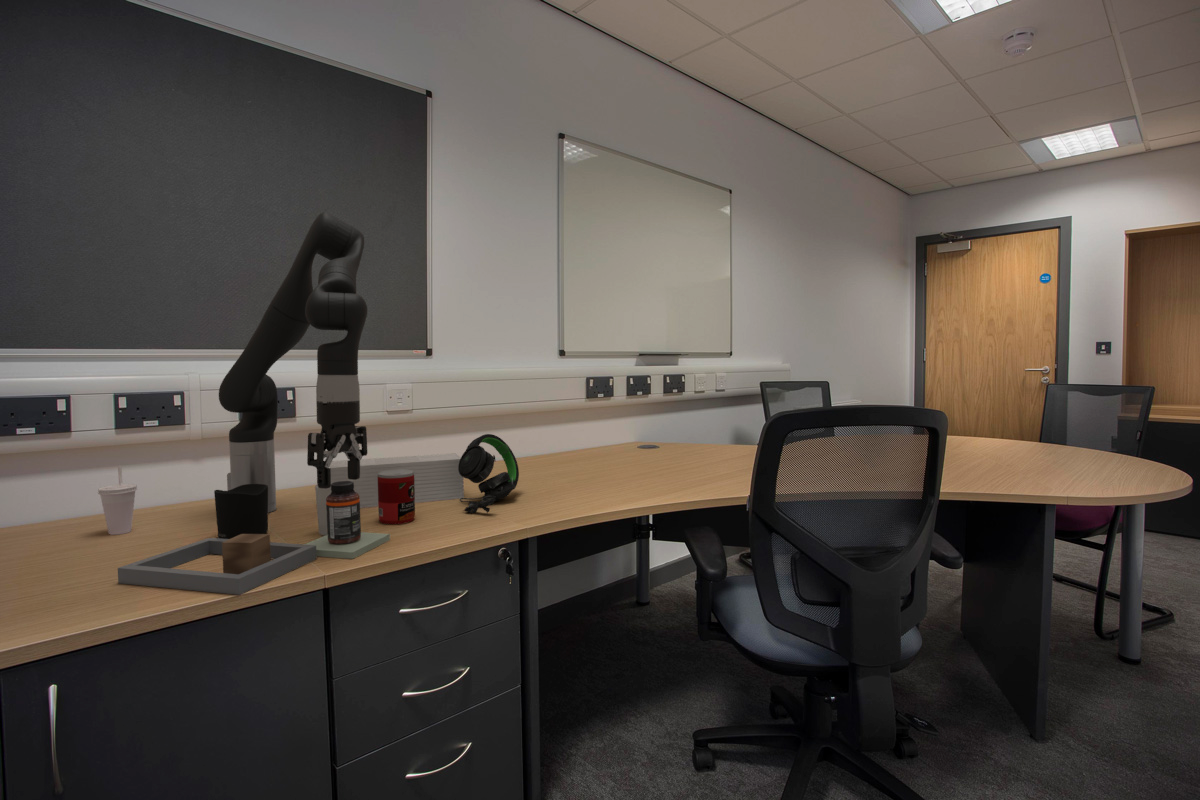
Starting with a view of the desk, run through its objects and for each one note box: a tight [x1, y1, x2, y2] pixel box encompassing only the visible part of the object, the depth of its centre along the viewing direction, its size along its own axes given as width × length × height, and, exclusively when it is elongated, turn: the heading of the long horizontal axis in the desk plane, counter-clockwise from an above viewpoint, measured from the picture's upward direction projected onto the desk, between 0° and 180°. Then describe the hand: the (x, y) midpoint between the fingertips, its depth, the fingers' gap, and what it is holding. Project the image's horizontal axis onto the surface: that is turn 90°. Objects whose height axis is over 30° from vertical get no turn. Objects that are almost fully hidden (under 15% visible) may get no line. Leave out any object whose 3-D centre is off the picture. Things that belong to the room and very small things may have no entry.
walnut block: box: [222, 533, 272, 574], centre depth 100 cm, size 5×5×6 cm
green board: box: [303, 531, 391, 560], centre depth 114 cm, size 12×12×1 cm
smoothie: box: [97, 465, 138, 536], centre depth 125 cm, size 6×6×14 cm
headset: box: [458, 433, 520, 514], centre depth 150 cm, size 16×12×27 cm
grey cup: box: [314, 482, 334, 536], centre depth 125 cm, size 7×7×10 cm
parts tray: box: [117, 537, 318, 596], centre depth 101 cm, size 23×17×2 cm
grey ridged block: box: [329, 453, 465, 509], centre depth 154 cm, size 32×11×11 cm, turn 115°
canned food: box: [377, 469, 416, 525], centre depth 134 cm, size 8×8×11 cm
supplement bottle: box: [326, 481, 362, 544], centre depth 114 cm, size 6×6×11 cm
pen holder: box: [213, 484, 269, 539], centre depth 122 cm, size 9×9×10 cm
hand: (339, 483), depth 113 cm, fingers open, 8 cm apart
